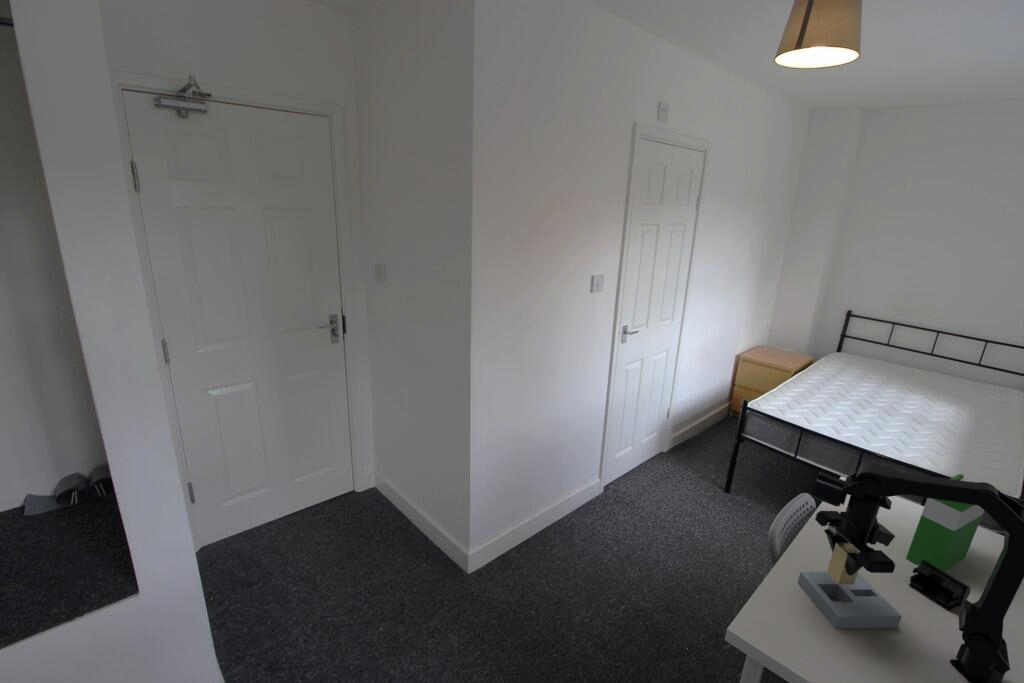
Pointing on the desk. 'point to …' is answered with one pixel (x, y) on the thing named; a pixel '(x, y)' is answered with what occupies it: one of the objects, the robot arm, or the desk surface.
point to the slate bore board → (849, 602)
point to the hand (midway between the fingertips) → (843, 568)
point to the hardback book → (944, 532)
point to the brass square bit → (841, 563)
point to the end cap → (939, 586)
